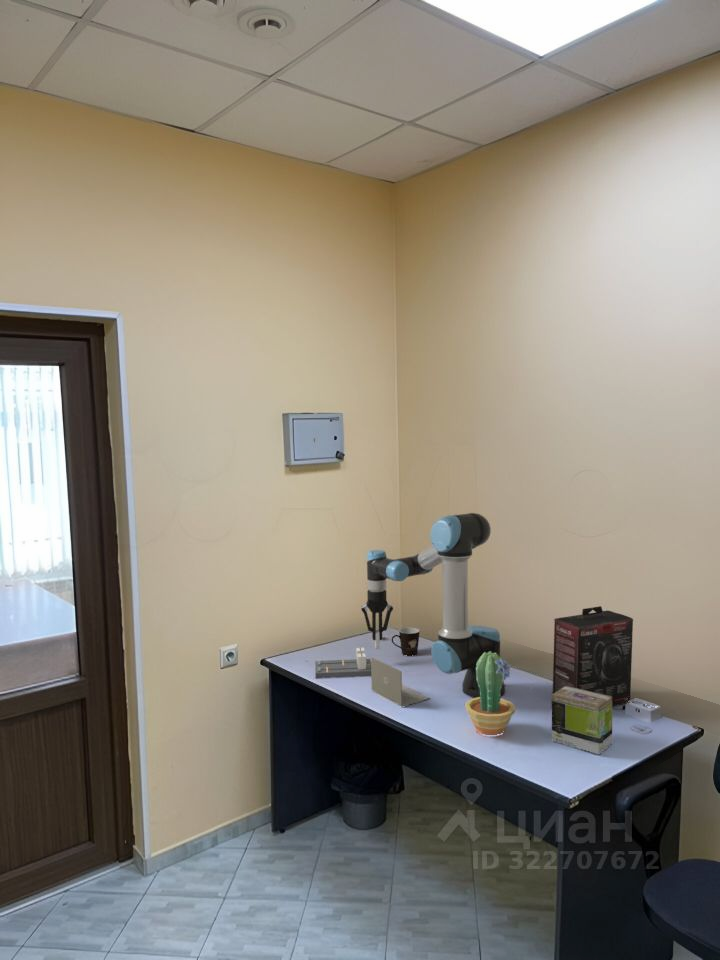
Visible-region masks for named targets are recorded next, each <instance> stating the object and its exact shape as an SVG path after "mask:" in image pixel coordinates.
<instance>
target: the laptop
mask: <svg viewBox="0 0 720 960" xmlns="http://www.w3.org/2000/svg"><path fill="white" fill-rule="evenodd" d="M370 661H371V676H370V677H371V691H372V693H374V694H376V695H378V696H379V697H381V698H383V699H385V700H387V701H388V702H390V703H393V704H394V705H396V704H397V705H396V706H398V705H399V706H398V707H400V706H401V707H400V708H404V707H403V706H406V705H407V706H408V705H409V706H410V704H412V705H415V704H417V703H420V702H424V701H426V700H429V699H430V697H429V696H427V695H424V694H423V693H421V692H419V691H416V690H415V689H412V688H410V687H409V686H407V685H404V684H403V682H402V670H401V669H398V668H395V667H394V666H391V665H389V664H387V663H385V662H382V661H380V660H378V659H377V658H374V657H370ZM414 703H415V704H414ZM407 706H406V707H407Z"/></svg>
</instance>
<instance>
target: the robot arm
mask: <svg viewBox="0 0 720 960" xmlns="http://www.w3.org/2000/svg"><path fill="white" fill-rule="evenodd" d="M491 529H492V528H491V524H490V522H489V520H487V518H486V517H485V516H483V515H481V514H479V513H475V512H468V513H463V514H462V513H461V514H452V515H450V514H449V515H446V516H442V517H440V518H438V519H436V520H435V522H434V523H433V524H432V527H431V529H430V542H431V544H432V545H431V546H429V547H427V548H425V549H424V550H422V551H420V552H419V553H417V554H415V555H413V556H409V557H408V556H407V557H401V558H396V559H392V558H388V557H387V552H386V551H385V550H382V549H374V550H369V551H368V552H367V553H366V554H367V557H366V568H367V569H366V570H367V572H366V573H367V575H366V576H367V587H366V588H367V591H366V592H367V593H366V594H367V598H366V599H367V601H366V603H365V605H363V606H361V607H360V608H361V609H360V610H361V612H362V613H363V615H364V619H365V623H366V626H367V631H368V632H371V633H372V635H371V636H372V640H373V641H374V644H375V646H374V647H375V650H380V641H382V640H383V632H385V631H387V630H388V627H389V623H390V622H389V621H390V617H391V613H392V612H393V610H394V607H393V605H390V604H389V603H388V600H387V590H386V589H387V579H388V580H391V581H394V582H403V581H405V580H406V579H407V578H410V577H413V576H421V575H426V574H429V573H431V572H432V571H433V570H434V568H435V567H437V566H439V565H441V564H442V566H441V567H442V571H441V572H442V575H441V576H442V577H441V579H442V580H441V581H442V587H441V588H442V628H441V629H439V630H438V632H437V633H438V636H437V641H434V643H433V644H432V645H431V650H430V651H431V657H432V661H433V663H434V664H435V665H436V667H437V669H438V670H439V671H441V672H442V673H444V674H446V675H451V674H458V673H460V672H463V671H466V672H465V675H464V678H463V680H462V688H461V689H462V690H461V691H462V692H463V694H465V695H466V696H469V697H471V698H473V699H474V698H477V697H480V688H479V686H478V683H477V677H476V667H477V666H476V664H477V662H478V660H479V658H480V657H481V656H482V654H483V653H484V652H486V653H488V652H489V651H491V652H492V654H493V653H497V655H498V656H499V657H500V658H501V638H500V637H501V636H500V635H501V634H500V632H499V630H498V629H495V628H493V627H490V626H486V625H485V626H484V625H469V622H468V621H469V619H468V618H469V617H468V613H469V612H468V610H469V607H468V605H469V604H468V603H469V602H468V600H469V598H468V597H469V596H468V595H469V594H468V592H469V591H468V590H469V589H468V588H469V586H468V583H469V582H468V581H469V577H468V574H469V573H468V572H469V571H468V569H469V568H468V563H469V562H468V561H469V559H470V558H471V557H472V556H473V550H474V549H476V548H477V547H479V546H481V545H484V544H485V543H487V541H488V540H489V538H490V536H491V533H492V531H491ZM368 610H369V611H370V612H371V620H372V621H371V622H372V623H371V624H370V618H369V615H368V612H367V611H368ZM385 610H386V614H385V618H384V622H383V613H384V612H385ZM377 614H378V630H377V625H376V623H377V621H376V620H377ZM505 693H506V684H505V682H503V685H502V688H501V693H500V698H501V697H502V696H504V695H505Z"/></svg>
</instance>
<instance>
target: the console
mask: <svg viewBox="0 0 720 960" xmlns="http://www.w3.org/2000/svg"><path fill="white" fill-rule="evenodd" d="M314 665H315V667H314V668H315V669H314V670H315V679H332V678H331V677H337V678H355V677H354V676H360V677H371V658H366V669H363V670H358V664H357V658H355V659H354V658H352V659H334V660H333V659H332V660H330V659H329V660H327V659H326V660H315V663H314ZM323 677H324V678H323Z"/></svg>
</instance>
